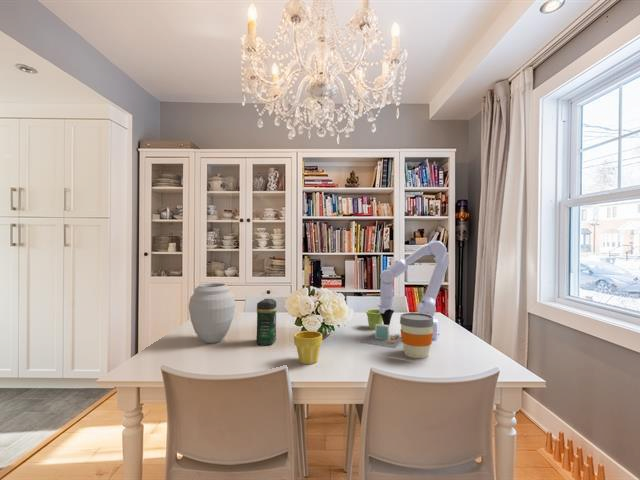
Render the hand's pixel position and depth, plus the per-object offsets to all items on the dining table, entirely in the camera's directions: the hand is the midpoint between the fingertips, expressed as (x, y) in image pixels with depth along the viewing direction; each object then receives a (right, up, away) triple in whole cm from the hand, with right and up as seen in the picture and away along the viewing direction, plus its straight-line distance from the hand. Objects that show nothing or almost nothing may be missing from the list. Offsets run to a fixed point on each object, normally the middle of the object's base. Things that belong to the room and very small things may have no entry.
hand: (386, 326), depth 157 cm
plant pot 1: (-35, -5, -31) cm, 47 cm away
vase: (-78, -5, -7) cm, 78 cm away
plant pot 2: (-3, -5, +13) cm, 14 cm away
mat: (-3, -5, -7) cm, 9 cm away
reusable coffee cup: (+7, -5, -25) cm, 26 cm away
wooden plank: (+2, -4, -7) cm, 9 cm away
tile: (-3, -4, -5) cm, 7 cm away
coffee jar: (-53, -5, -9) cm, 55 cm away
